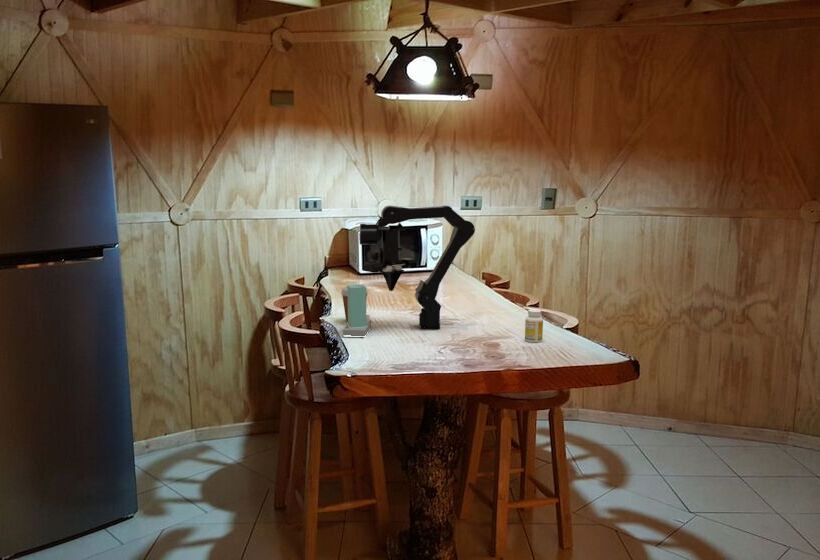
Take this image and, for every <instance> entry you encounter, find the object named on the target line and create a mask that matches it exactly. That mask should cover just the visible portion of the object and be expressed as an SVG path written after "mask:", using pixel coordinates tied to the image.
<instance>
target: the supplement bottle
mask: <svg viewBox="0 0 820 560" xmlns="http://www.w3.org/2000/svg"><path fill="white" fill-rule="evenodd" d="M524 321H525V323H524V327H525V328H524V330H525V331H524V340H525V341H526V342H529V343H541V342H542V341H543V329H544V319H543V317H542V310H541V309H539V308H533V309H532V308H530V309H528V310H527V316H526V317H525V320H524Z"/></svg>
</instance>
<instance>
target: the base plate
mask: <svg viewBox="0 0 820 560" xmlns="http://www.w3.org/2000/svg"><path fill="white" fill-rule="evenodd" d="M370 317H371V316H370V314H366V327H355V328H351V327H350V326H349V325H348V323H346V325H345V327H344V328H343V329H342V336H343V335H351V336H365V335H366V334H367V332H368V331H369V329H370V328H371V329H372V320H370V319H371V318H370ZM371 329H370V330H371ZM369 332H370V331H369ZM369 332H368V333H369ZM367 335H368V334H367ZM367 335H366V336H367Z"/></svg>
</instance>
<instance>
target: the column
mask: <svg viewBox="0 0 820 560" xmlns="http://www.w3.org/2000/svg"><path fill="white" fill-rule="evenodd" d="M346 287H347V295H348V323H347V324H348V325H349V326H350V327H351V328H355V327H366V315H367V299H366V288H367V287H366V286H365V285H364V284H350V285H348V284H347V286H346Z"/></svg>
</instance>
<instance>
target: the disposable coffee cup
mask: <svg viewBox="0 0 820 560" xmlns="http://www.w3.org/2000/svg"><path fill="white" fill-rule="evenodd" d="M368 293H369V291H368V288H367V287H366V300H367V296H368ZM340 294H341V296H342V302H343V310H344V314H345V322H346V321H347V322H348V295H347V286H344V287H343V288H341V292H340Z"/></svg>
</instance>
